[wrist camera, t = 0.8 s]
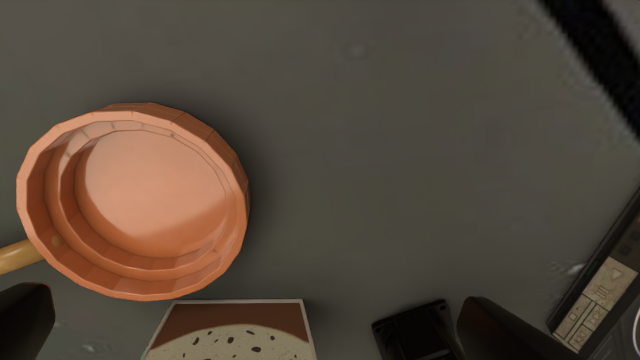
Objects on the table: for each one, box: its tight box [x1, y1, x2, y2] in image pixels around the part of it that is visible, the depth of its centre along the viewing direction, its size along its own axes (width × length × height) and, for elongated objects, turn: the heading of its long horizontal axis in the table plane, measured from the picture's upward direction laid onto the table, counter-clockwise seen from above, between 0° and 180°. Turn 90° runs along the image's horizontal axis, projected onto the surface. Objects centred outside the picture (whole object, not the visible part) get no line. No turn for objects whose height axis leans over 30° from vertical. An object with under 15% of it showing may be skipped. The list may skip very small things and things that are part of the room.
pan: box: [16, 103, 251, 301], centre depth 19 cm, size 11×11×3 cm
